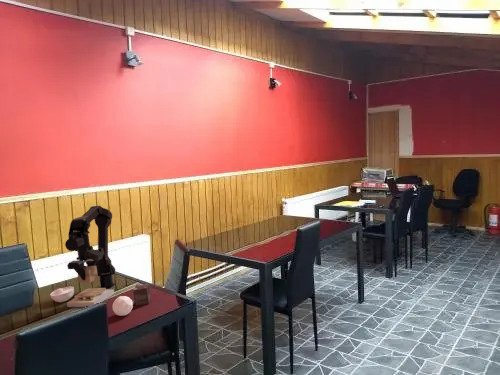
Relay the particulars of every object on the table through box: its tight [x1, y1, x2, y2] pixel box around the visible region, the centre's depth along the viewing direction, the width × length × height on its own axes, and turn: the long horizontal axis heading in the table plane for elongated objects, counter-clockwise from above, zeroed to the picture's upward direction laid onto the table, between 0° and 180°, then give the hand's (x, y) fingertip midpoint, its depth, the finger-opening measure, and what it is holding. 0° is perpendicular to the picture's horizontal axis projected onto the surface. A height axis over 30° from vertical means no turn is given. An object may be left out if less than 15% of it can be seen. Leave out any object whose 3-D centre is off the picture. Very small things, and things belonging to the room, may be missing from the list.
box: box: [132, 283, 152, 306], centre depth 182 cm, size 6×6×7 cm
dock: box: [66, 288, 115, 308], centre depth 193 cm, size 16×14×2 cm
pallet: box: [73, 287, 107, 300], centre depth 193 cm, size 10×10×2 cm
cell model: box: [49, 285, 75, 303], centre depth 196 cm, size 10×12×7 cm
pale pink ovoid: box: [112, 295, 135, 317], centre depth 172 cm, size 8×8×12 cm
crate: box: [77, 265, 99, 284], centre depth 192 cm, size 6×6×6 cm
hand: (88, 277), depth 192 cm, fingers closed on crate, 6 cm apart
